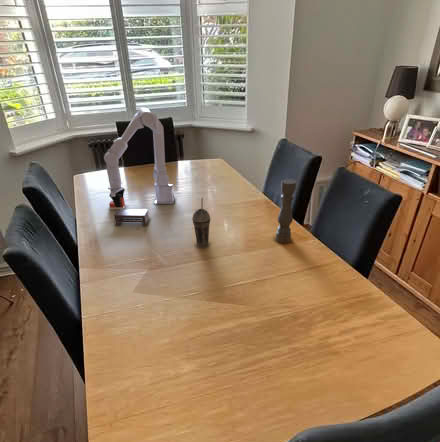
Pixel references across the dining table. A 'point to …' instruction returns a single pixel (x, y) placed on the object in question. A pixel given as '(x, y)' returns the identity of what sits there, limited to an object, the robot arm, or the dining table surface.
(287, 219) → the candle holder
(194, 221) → the beverage cup
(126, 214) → the brown flanged block
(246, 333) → the dining table surface
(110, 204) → the stepped red block
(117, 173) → the robot arm
